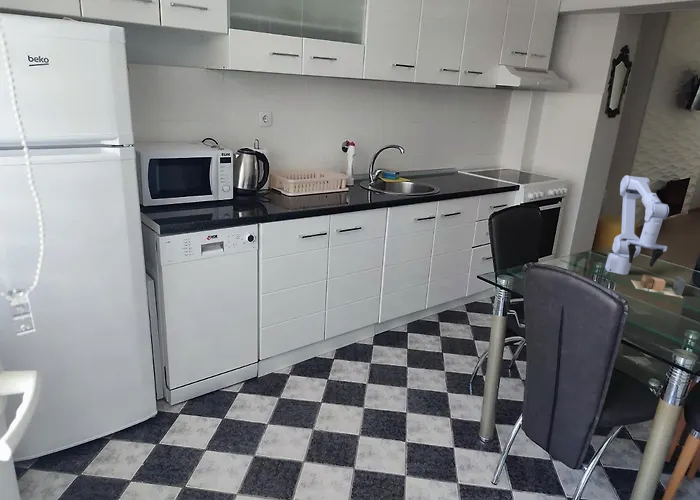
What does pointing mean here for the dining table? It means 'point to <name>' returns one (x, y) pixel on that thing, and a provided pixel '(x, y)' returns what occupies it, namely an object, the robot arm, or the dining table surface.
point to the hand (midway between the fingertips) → (640, 264)
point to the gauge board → (665, 291)
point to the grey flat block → (679, 285)
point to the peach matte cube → (658, 284)
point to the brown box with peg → (647, 281)
